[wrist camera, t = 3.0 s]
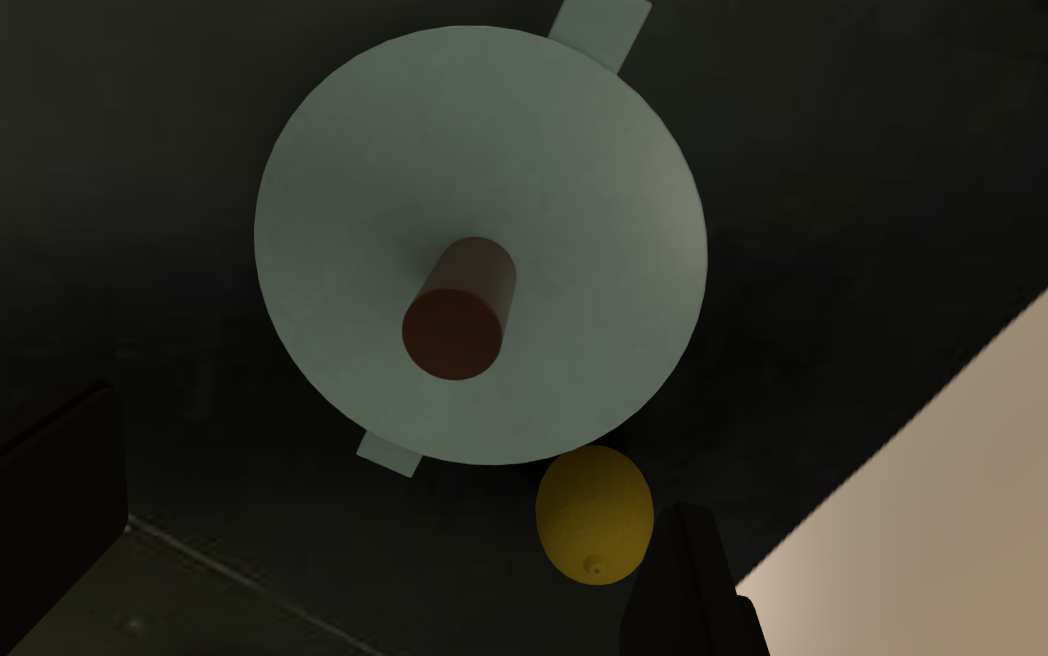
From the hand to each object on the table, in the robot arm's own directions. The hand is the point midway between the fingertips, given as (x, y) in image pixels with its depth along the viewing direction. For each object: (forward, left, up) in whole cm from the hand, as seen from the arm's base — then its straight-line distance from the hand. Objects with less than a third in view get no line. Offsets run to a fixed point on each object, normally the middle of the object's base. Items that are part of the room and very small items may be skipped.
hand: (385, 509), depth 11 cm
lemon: (+13, 0, -21) cm, 24 cm away
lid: (-1, 0, -12) cm, 12 cm away
